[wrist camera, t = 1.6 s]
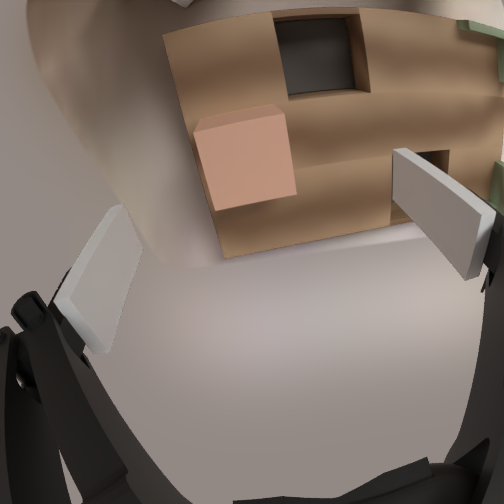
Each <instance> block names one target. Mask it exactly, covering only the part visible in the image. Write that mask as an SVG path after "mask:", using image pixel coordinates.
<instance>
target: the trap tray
mask: <svg viewBox="0 0 504 504" xmlns="http://www.w3.org/2000/svg"><path fill="white" fill-rule="evenodd" d="M325 18H345V20H344V19H325ZM306 19H323V20H306ZM293 20H305V21H293ZM283 21H293V22H283ZM274 22H283V23H274ZM345 24H346V25H345ZM346 29H347V31H346ZM347 35H348V36H347ZM162 37H163V41H164V45H165V49H166V53H167V57H168V61H169V64H170V68H171V72H172V76H173V80H174V84H175V87H176V91H177V95H178V99H179V102H180V106H181V110H182V114H183V117H184V121H185V125H186V128H187V132H188V135H189V139H190V143H191V146H192V150H193V153H194V157H195V160H196V164H197V167H198V171H199V174H200V178H201V181H202V185H203V188H204V191H205V195H206V198H207V202H208V205H209V208H210V212H211V215H212V219H213V222H214V225H215V228H216V232H217V235H218V238H219V242H220V245H221V248H222V251H223V255H224V258H225V259H226V258H231V257H236V256H241V255H246V254H251V253H256V252H261V251H266V250H271V249H276V248H281V247H286V246H291V245H296V244H301V243H306V242H311V241H316V240H321V239H326V238H331V237H336V236H341V235H346V234H351V233H356V232H361V231H366V230H370V229H375V228H380V227H385V226H390V225H395V224H400V223H405V222H410V221H413V220H412V219H411V218H410V217H409V216H408V215H407V214H406V213H405V212H404V211H403V210H402V209H401V208H400V206H399V205H398V204H397V203H396V202H395V201H394V200H393V149H399V148H407V149H409V150H410V151H412V152H414V153H415V154H417V155H418V156H420V157H422V158H423V159H425V160H426V161H428V162H429V163H431V164H432V165H434V166H435V167H437V168H438V169H440V170H441V171H443V172H444V173H446V174H447V175H449V176H450V177H451V178H453V179H454V180H456V181H457V182H458V183H460V184H461V185H463V186H464V187H466V188H468V189H470V190H472V191H473V192H475V193H476V194H477V195H478V196H479V197H481V198H482V199H484V200H485V202H487V203H489V204H490V205H491V206H492V207H494V208H495V209H496V210H497V211H498V212H500V213H501V214H502V215H503V216H504V162H502V161H501V155H502V145H503V134H504V31H503V30H500V29H497V28H494V27H491V26H487V25H484V24H481V23H477V22H474V21H470V20H455V19H450V18H445V17H440V16H435V15H429V14H423V13H416V12H408V11H400V10H390V9H378V8H358V7H322V8H302V9H289V10H278V11H270V12H262V13H255V14H248V15H242V16H237V17H231V18H226V19H221V20H216V21H212V22H207V23H203V24H199V25H195V26H191V27H187V28H184V29H180V30H176V31H173V32H170V33H166V34H163V35H162ZM348 41H349V42H348ZM349 47H350V48H349ZM350 53H351V55H350ZM351 60H352V62H351ZM352 67H353V69H352ZM353 75H354V76H353ZM354 83H355V85H354ZM354 87H355V88H354ZM340 88H352V89H340ZM329 89H339V90H329ZM320 90H328V91H320ZM311 91H319V92H311ZM303 92H310V93H303ZM295 93H302V94H295ZM288 94H295V95H288ZM270 104H275V105H276V106H277V107H278V108H279V109H280V110H281V111H282V112H283V113H284V114H285V120H286V126H287V132H288V138H289V144H290V151H291V157H292V164H293V171H294V178H295V185H296V192H297V195H291V196H286V197H281V198H276V199H271V200H266V201H261V202H256V203H251V204H246V205H241V206H236V207H232V208H227V209H222V210H218V211H215V209H214V205H213V202H212V198H211V195H210V191H209V188H208V184H207V181H206V177H205V174H204V170H203V167H202V163H201V159H200V156H199V152H198V149H197V145H196V141H195V138H194V134H193V132H194V130H195V128H196V126H197V124H198V122H199V120H200V119H203V118H207V117H211V116H216V115H220V114H224V113H229V112H233V111H238V110H243V109H248V108H253V107H259V106H264V105H270Z"/></svg>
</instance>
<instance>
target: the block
mask: <svg viewBox="0 0 504 504" xmlns="http://www.w3.org/2000/svg"><path fill="white" fill-rule="evenodd" d="M193 134H194V138H195V141H196V145H197V149H198V152H199V156H200V159H201V163H202V167H203V170H204V174H205V177H206V181H207V184H208V188H209V191H210V195H211V198H212V202H213V205H214V209H215V211H218V210H222V209H227V208H232V207H236V206H241V205H246V204H251V203H256V202H261V201H266V200H271V199H276V198H281V197H286V196H291V195H297V192H296V185H295V178H294V171H293V164H292V157H291V151H290V144H289V138H288V132H287V126H286V120H285V114H284V113H283V112H282V111H281V110H280V109H279V108H278V107H277V106H276V105H275V104H270V105H264V106H259V107H253V108H248V109H243V110H238V111H233V112H229V113H224V114H220V115H216V116H211V117H207V118H203V119H200V120H199V122H198V124H197V126H196V128H195V130H194V132H193Z"/></svg>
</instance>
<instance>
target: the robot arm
mask: <svg viewBox="0 0 504 504" xmlns="http://www.w3.org/2000/svg"><path fill="white" fill-rule="evenodd" d="M393 200H394V201H395V202H396V203H397V204H398V205H399V206H400V208H401V209H402V210H403V211H404V212H405V213H406V214H407V215H408V216H409V217H410V218H411V219H412V220H413V221H414V222H415V223H416V224H417V225H418V226H419V227H420V229H421V230H422V231H423V232H424V233H425V234H426V235H427V236H428V237H429V239H430V240H431V241H432V242H433V243H434V244H435V245H436V246H437V247H438V249H439V250H440V251H441V252H442V253H443V254H444V256H445V257H446V258H447V259H448V260H449V262H450V263H451V264H452V265H453V267H454V268H455V269H456V270H457V271H458V273H459V274H460V275H461V276H462V278H463V279H464V280H465V281H466V280H469V279H472V278H475V277H478V276H479V275H480V272H481V268H482V265H483V263H484V264H485V265H486V266H487V267H488V268H489V269H488V272H487V275H486V278H485V281H484V284H483V287H482V289H481V292H482V293H483V291H484V289H485V302H484V315H483V323H482V331H481V339H480V346H479V352H478V358H477V363H476V369H475V374H474V379H473V383H472V388H471V392H470V396H469V400H468V404H467V408H466V411H465V415H464V418H463V422H462V425H461V428H460V431H459V434H458V437H457V439H456V440H455V442H454V444H453V445H452V447H451V449H450V450H449V452H448V454H447V456H446V458H445V461H444V463H430V464H429V461H428V458H427V457H425V458H423V459H420V460H418V461H415V462H413V463H410V464H408V465H405V466H402V467H399V468H397V469H394V470H391V471H388V472H385V473H383V474H381V475H380V476H378V477H376V478H374V479H372V480H371V481H369V482H367V483H365V484H363V485H362V486H360V487H358V488H356V489H354V490H352V491H350V492H348V493H346V494H344V495H342V496H340V497H337V498H300V497H285V496H280V497H272V498H263V499H252V500H237V501H233V504H504V216H503V215H502V214H501V213H500V212H498V211H497V210H496V209H495V208H494V207H492V206H491V205H490V204H489V203H487V202H485V200H484V199H482V198H481V197H479V196H478V195H477V194H476V193H475V192H473V191H472V190H470V189H468V188H466V187H464V186H463V185H461V184H460V183H458V182H457V181H456V180H454V179H453V178H451V177H450V176H449V175H447V174H446V173H444V172H443V171H441V170H440V169H438V168H437V167H435V166H434V165H432V164H431V163H429V162H428V161H426V160H425V159H423V158H422V157H420V156H418V155H417V154H415V153H414V152H412V151H410V150H409V149H407V148H399V149H393ZM142 253H143V247H142V245H141V242H140V240H139V238H138V236H137V233H136V231H135V229H134V226H133V224H132V222H131V219H130V217H129V214H128V212H127V210H126V207H125V205H124V203H122V204H119V205H116V206H112V207H111V208H110V209H109V210H108V211H107V213H106V215H105V216H104V217H103V219H102V220H101V222H100V223H99V225H98V226H97V228H96V229H95V231H94V232H93V234H92V236H91V237H90V239H89V240H88V242H87V243H86V245H85V247H84V248H83V250H82V252H81V253H80V255H79V256H78V258H77V260H76V261H75V263H74V265H73V266H72V267H71V268H70V269H69V270H68V271H67V272H66V274H65V276H64V278H63V279H62V282H61V283H60V285H59V287H58V289H57V290H56V292H55V294H54V296H53V297H52V300H51V301H50V303H49V305H48V307H47V306H46V304H45V303H44V301H43V300H42V299H41V297H40V296H39V294H38V293H37V292H36V291H31V292H28V293H26V294H24V295H23V296H22V297H21V298H19V299H18V300H17V302H16V303H15V304H14V306H13V308H12V310H11V315H12V316H13V318H14V319H15V320H16V321H17V323H18V324H19V325H20V327H21V328H22V329H23V330H24V331H23V332H20V333H18V334H16V335H15V333H14V332H13V331H12V330H11V329H10V327H8V326H5V327H3V328H1V329H0V504H71V500H70V497H69V493H68V489H67V485H66V482H65V477H64V473H63V469H62V464H61V459H60V455H59V450H60V452H61V455H62V457H63V459H64V461H65V464H66V466H67V468H68V470H69V472H70V474H71V476H72V478H73V480H74V482H75V484H76V486H77V488H78V490H79V492H80V494H81V496H82V499H83V503H81V504H192V503H191V502H190V501H189V500H187V499H186V498H185V497H183V496H182V495H181V494H180V493H179V492H178V491H177V489H176V488H175V487H174V486H173V485H172V484H171V483H170V481H169V480H168V479H167V478H166V476H165V475H163V473H162V472H161V470H160V469H159V468H158V467H157V465H156V464H155V463H154V461H153V460H152V459H151V458H150V456H149V455H148V454H147V452H146V451H145V449H144V448H143V447H142V446H141V444H140V443H139V441H138V440H137V438H136V437H135V436H134V434H133V433H132V431H131V430H130V429H129V427H128V425H127V424H126V422H125V421H124V419H123V418H122V416H121V415H120V413H119V412H118V410H117V408H116V407H115V405H114V404H113V402H112V400H111V399H110V397H109V396H108V394H107V392H106V390H105V389H104V387H103V385H102V384H101V382H100V380H99V378H98V376H97V375H96V373H95V371H94V369H93V367H92V365H91V363H90V362H89V360H88V358H87V357H86V355H85V354H84V353H83V350H84V347H85V344H86V345H87V347H88V348H89V349H90V350H91V351H92V353H93V354H103V353H110V351H111V347H112V344H113V340H114V337H115V333H116V330H117V327H118V323H119V320H120V317H121V314H122V311H123V307H124V304H125V301H126V298H127V295H128V292H129V289H130V286H131V283H132V280H133V278H134V275H135V272H136V269H137V266H138V264H139V261H140V258H141V255H142ZM16 378H17V379H18V380H19V381H20V382H21V383H22V384H21V385H22V386H20V385H19V384H18V382H17V379H16Z"/></svg>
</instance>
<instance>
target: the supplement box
mask: <svg viewBox="0 0 504 504" xmlns="http://www.w3.org/2000/svg"><path fill="white" fill-rule="evenodd" d="M171 1H173V2H175V3H177V4H179V5H180V6H182V7H185V8H187V7H188V6H189V5H190V3H191V2H192V1H193V0H171Z"/></svg>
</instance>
